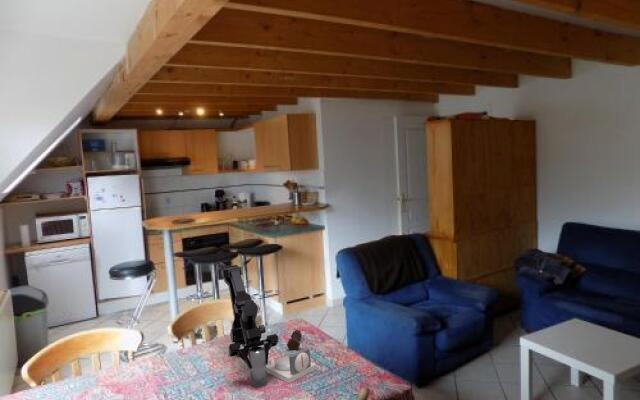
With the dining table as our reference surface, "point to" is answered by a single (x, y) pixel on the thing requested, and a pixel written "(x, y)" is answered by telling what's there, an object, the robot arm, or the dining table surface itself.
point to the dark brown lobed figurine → (294, 340)
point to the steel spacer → (258, 366)
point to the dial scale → (292, 366)
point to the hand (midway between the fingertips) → (258, 366)
